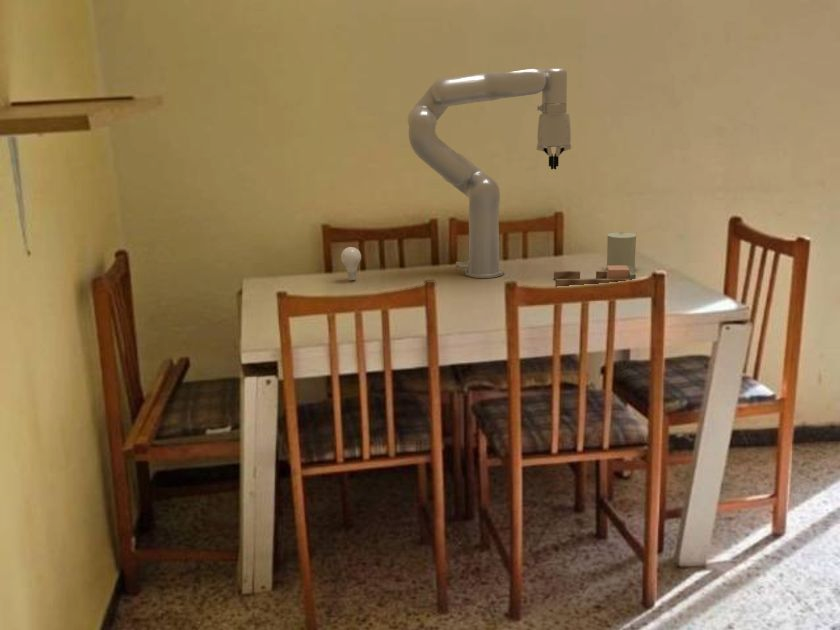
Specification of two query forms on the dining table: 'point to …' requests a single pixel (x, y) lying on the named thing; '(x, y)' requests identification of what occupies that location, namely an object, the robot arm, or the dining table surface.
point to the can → (621, 249)
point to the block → (618, 272)
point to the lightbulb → (351, 261)
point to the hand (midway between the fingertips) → (553, 168)
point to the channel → (574, 279)
